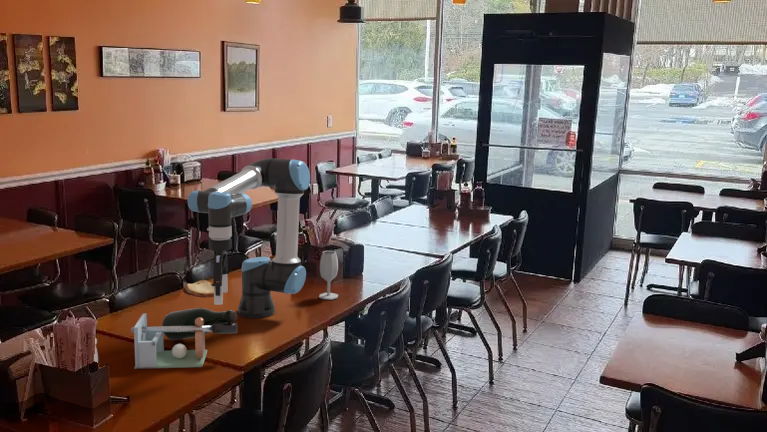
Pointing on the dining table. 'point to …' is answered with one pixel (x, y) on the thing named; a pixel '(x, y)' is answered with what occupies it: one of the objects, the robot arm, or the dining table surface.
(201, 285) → the slice of bread
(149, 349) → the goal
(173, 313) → the dark wine bottle
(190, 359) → the pitch mat
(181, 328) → the foosball rod
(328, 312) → the dining table surface
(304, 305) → the dining table surface
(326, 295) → the wineglass
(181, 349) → the ball
